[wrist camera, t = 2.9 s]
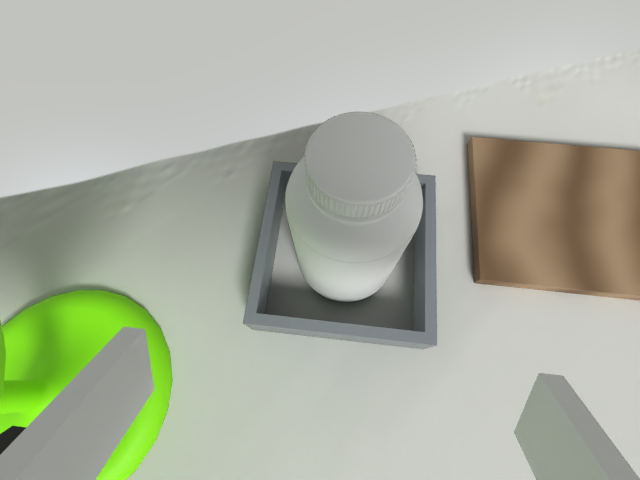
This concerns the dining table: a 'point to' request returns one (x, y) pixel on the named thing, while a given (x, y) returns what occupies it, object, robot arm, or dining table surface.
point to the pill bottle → (353, 204)
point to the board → (555, 217)
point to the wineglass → (79, 364)
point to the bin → (258, 320)
